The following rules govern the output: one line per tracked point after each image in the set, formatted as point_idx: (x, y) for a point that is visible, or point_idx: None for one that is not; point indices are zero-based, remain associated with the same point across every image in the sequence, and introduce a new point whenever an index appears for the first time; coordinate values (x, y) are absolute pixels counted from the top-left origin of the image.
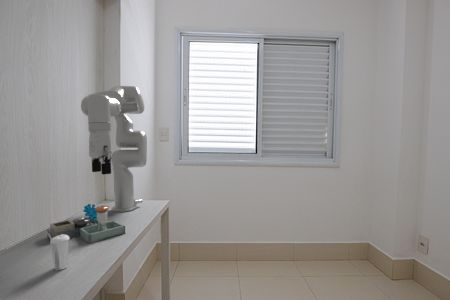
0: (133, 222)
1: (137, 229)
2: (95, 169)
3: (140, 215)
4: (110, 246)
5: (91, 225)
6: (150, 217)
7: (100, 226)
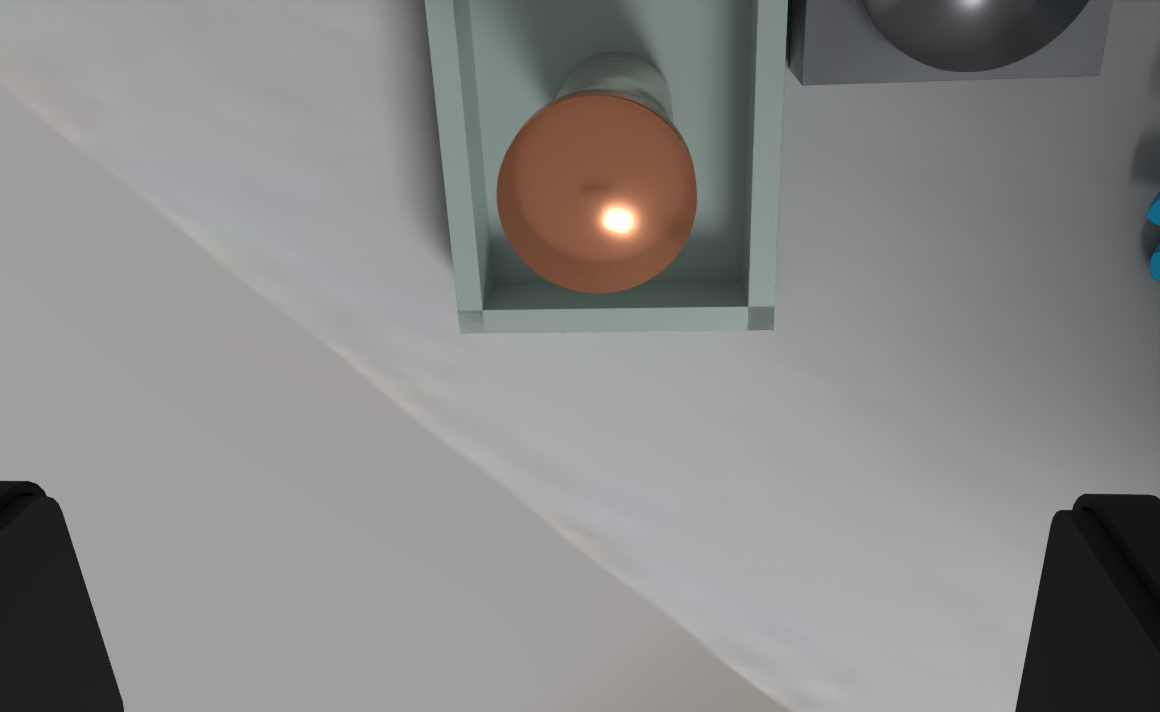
0: (762, 498)
1: (503, 428)
2: (1079, 653)
3: (943, 649)
4: (202, 44)
5: (802, 40)
6: (776, 674)
7: (561, 90)
